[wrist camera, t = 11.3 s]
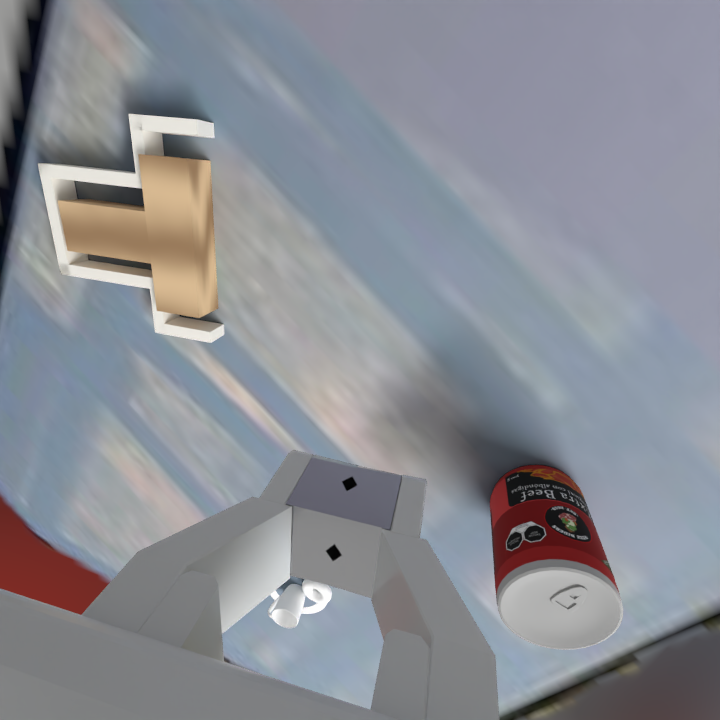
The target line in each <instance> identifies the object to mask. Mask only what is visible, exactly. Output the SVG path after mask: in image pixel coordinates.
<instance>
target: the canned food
mask: <svg viewBox="0 0 720 720" xmlns="http://www.w3.org/2000/svg"><path fill="white" fill-rule="evenodd" d="M490 512H491V527H492V543H493V558H494V574H495V588H496V598H497V605H498V611H499V614H500V617H501V619H502V620H503V622H504V623H505V625H506V626H507V627H508V628H509V629H510V630H511V631H512V632H513V633H515V634H516V635H517V636H519V637H520V638H522V639H524V640H526V641H528V642H530V643H533V644H536V645H539V646H542V647H547V648H552V649H562V650H567V649H579V648H585V647H589V646H592V645H595V644H598V643H600V642H602V641H604V640H606V639H607V638H608V637H610V636H611V635H612V634H613V633H614V632H615V631H616V630H617V629H618V627H619V626H620V623H621V621H622V618H623V607H622V602H621V598H620V593H619V591H618V588H617V585H616V583H615V579H614V576H613V574H612V571H611V568H610V566H609V563H608V560H607V558H606V555H605V552H604V550H603V547H602V544H601V542H600V539H599V536H598V534H597V531H596V528H595V526H594V523H593V520H592V518H591V515H590V512H589V510H588V507H587V504H586V502H585V499H584V496H583V494H582V492H581V490H580V488H579V487H578V486H577V485H576V483H575V482H574V481H573V480H572V479H571V478H570V477H569V476H567V475H566V474H565V473H563V472H562V471H560V470H557V469H555V468H552V467H549V466H543V465H528V466H523V467H519V468H516V469H514V470H511V471H510V472H508V473H506V474H505V475H504V476H503V477H501V478H500V480H499V481H498V482H497V483H496V485H495V487H494V490H493V492H492V494H491V499H490Z"/></svg>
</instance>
